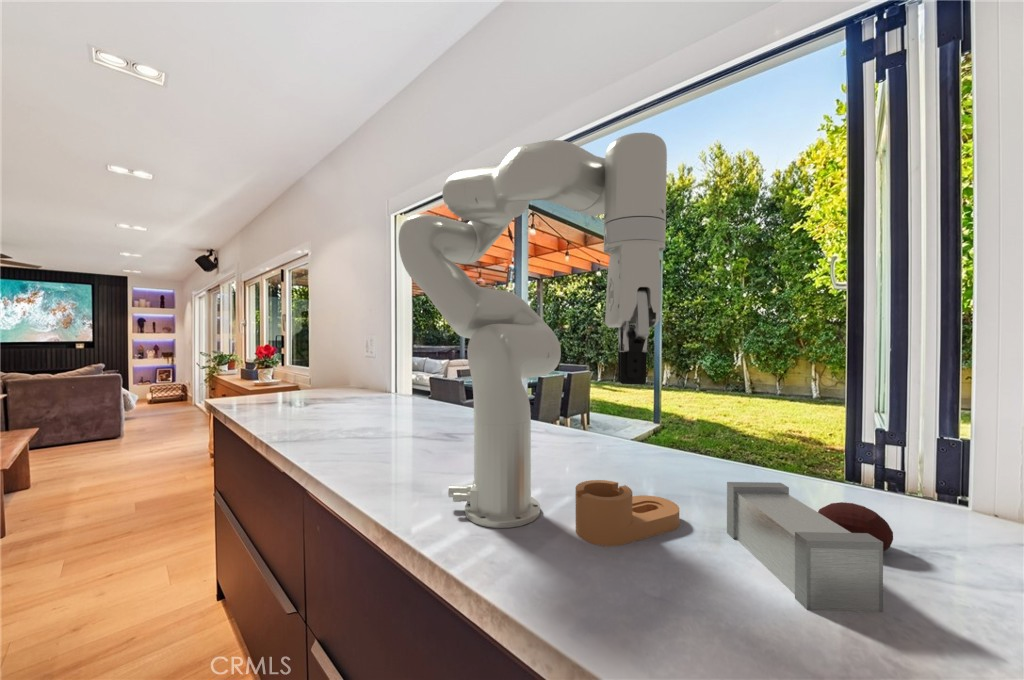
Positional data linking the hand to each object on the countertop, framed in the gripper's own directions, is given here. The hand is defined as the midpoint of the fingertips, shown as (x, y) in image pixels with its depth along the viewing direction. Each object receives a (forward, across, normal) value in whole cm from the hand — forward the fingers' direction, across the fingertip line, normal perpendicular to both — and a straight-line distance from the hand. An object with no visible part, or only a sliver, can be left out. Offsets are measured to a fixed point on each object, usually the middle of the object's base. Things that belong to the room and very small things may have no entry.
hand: (631, 383), depth 53 cm
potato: (+24, -6, +33) cm, 41 cm away
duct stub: (+23, 0, +21) cm, 31 cm away
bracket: (+24, -11, +2) cm, 27 cm away
